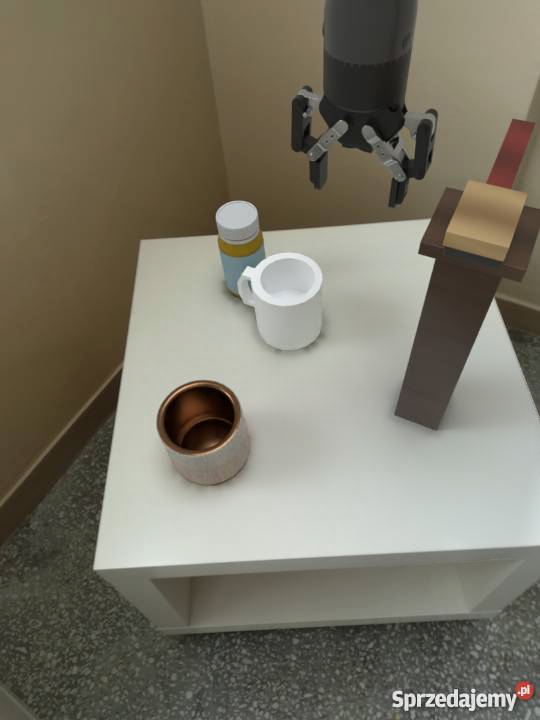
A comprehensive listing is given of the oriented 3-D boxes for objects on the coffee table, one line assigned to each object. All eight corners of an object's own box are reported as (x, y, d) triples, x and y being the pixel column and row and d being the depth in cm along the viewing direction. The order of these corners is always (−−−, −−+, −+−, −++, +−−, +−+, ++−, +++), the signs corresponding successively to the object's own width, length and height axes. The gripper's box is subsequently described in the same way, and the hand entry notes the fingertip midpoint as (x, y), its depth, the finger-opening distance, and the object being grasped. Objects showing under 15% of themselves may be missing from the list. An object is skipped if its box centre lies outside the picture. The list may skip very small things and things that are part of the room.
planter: (242, 406, 76) (234, 370, 68) (257, 476, 70) (250, 445, 62) (168, 423, 76) (151, 388, 68) (177, 495, 70) (159, 466, 62)
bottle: (230, 267, 92) (217, 197, 79) (270, 269, 91) (263, 199, 78) (223, 298, 88) (208, 230, 75) (264, 301, 87) (256, 232, 75)
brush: (493, 131, 54) (501, 106, 52) (544, 142, 53) (554, 115, 51) (439, 255, 45) (446, 231, 43) (499, 272, 44) (509, 247, 42)
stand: (400, 372, 78) (446, 186, 50) (461, 394, 75) (545, 210, 48) (381, 416, 74) (420, 241, 46) (445, 441, 71) (526, 270, 44)
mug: (228, 330, 84) (217, 285, 75) (257, 286, 89) (250, 238, 80) (305, 359, 80) (304, 315, 71) (332, 310, 85) (333, 264, 76)
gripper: (464, 28, 44) (430, 188, 58) (308, 6, 49) (310, 160, 62) (439, 74, 41) (408, 233, 54) (273, 46, 45) (283, 200, 59)
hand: (356, 194), depth 58 cm, fingers open, 8 cm apart
